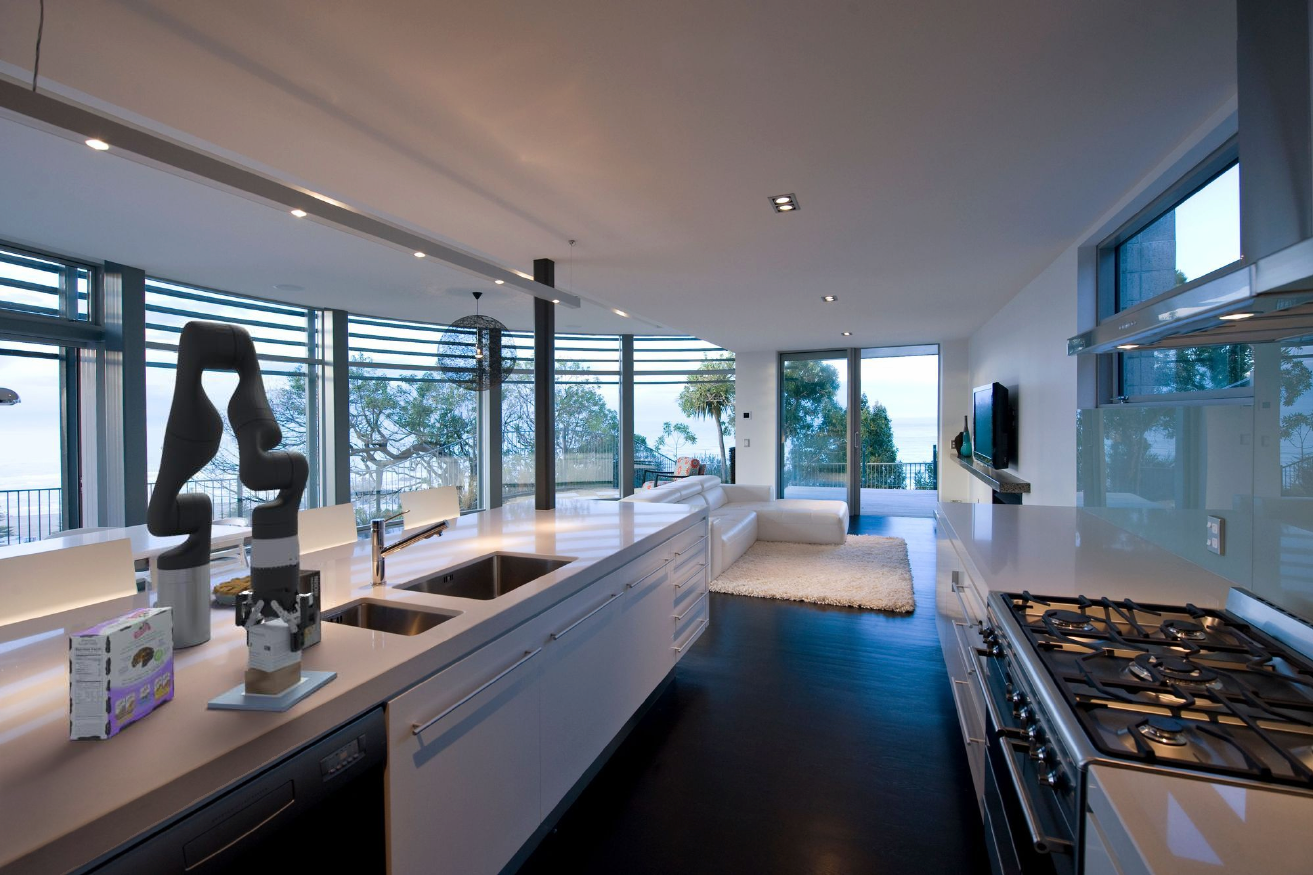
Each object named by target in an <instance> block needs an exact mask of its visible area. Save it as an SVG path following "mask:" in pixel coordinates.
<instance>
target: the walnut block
mask: <svg viewBox="0 0 1313 875" xmlns="http://www.w3.org/2000/svg"><path fill="white" fill-rule="evenodd" d="M301 662H302V660H301V661H299V662H296V663H294V664H291V665H289V666H286V667H284V668H281V669H279V670H276V671H273V672H266V671H262V670H259V669H255V668H250V667H249V668H247V669H246V670H244V683H245V693H247V694H263V695H277V694H279V693H281V692H282V691H284V690H286V689H287V688H289V687H291V686H292V685H294V684H296V683H297V682H299V681H301V670H302V669H301V668H302V667H301V665H302V663H301Z"/></svg>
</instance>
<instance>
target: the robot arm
mask: <svg viewBox="0 0 1313 875" xmlns="http://www.w3.org/2000/svg"><path fill="white" fill-rule="evenodd" d="M180 332H181V333H180V335H179V342H178V349H177V359H176V371H175V372H176V373H175V383H174V390H173V395H172V401H171V405H170V409H169V413H168V419H167V422H166V427H165V433H164V436H163V444H162V452H161V458H160V464H159V469H158V474H157V477H156V480H155V483H154V486H153V490H152V493H151V496H150V500H149V503H148V507H147V511H146V520H145V521H146V527H147V530H148V532H149V534H150V535H152V536H153V537H156V538H169V537H179V536H186V535H188V537H187V539H186V540H185V541H183V542H182V543H181V544H179V545H177V546H175V547H174V548H171V549H169V550H166V551H163V552H162V553H161V554H159V555H158V556H157V558H156V597H157V598H156V600H155V601H154V602H153V604H152V608H156V607H172V610H173V650H175V649H183V648H188V647H192V646H196V645H199V644H203V643H205V642H207V641H208V640H210V639H211V636H212V634H211V633H212V631H211V629H212V628H211V622H212V621H211V619H212V618H211V617H212V616H211V614H212V612H211V607H212V604H211V595H212V592H211V551H212V530H213V527H212V526H213V510H214V509H213V503H212V498H211V497H210V496H209V495H208V494H207V493H206V492H186V493H180V491H181V490H182V488H183V487H184V486H185V484H187V482H189V480H191V478H193V477H194V476H195V475H196V474H198V473H200V471H201V470H203V469H204V468H205V467H206V466H207V465H208V464H209V463H210V462H211V461H212V460H213V459H214V458H215V457H216V456H217V454H218V451H219V449H220V447H221V446H220V444H221V441H222V436H223V434H224V433H223V432H224V421H223V418H222V415H221V414H220V413H219V411H218V409H217V408H216V406H215V405H214V404H213V402H212V401H211V399H210V397H209V396H208V395H207V392H206V390H205V389H204V387H203V382H202V380H203V377H202V376H203V372H204V371H205V370H218V371H235V373H237V375H238V378H239V379H238V384H237V385H236V387H235V389H234V391H233V393H232V394H231V396H230V399H229V401H228V404H227V411H226V412H227V413H226V414H227V420H228V423H229V425H230V427H231V430H232V431H233V432H232V433H233V434H234V437H235V439H236V441H237V446H238V448H237V449H238V456H239V457H238V460H239V462H238V476H239V480H240V482H241V484H242V485H243V486H244V487H245V488H246V489H248V490H251V491H252V492H266V491H278V490H279V491H278V492H277V493H278V494H277V496H276V497H275V498H274V499H273V500H271V501H268V502H265V503H261V504H259V505H256V506H255V507H254V508H253V510H252V512H251V542H250V543H251V544H250V548H249V549H250V553H249V556H250V557H249V560H250V561H249V564H250V565H249V566H250V567H249V568H250V569H249V572H250V574H249V575H250V587H251V589H252V590H253V593H252V592H251V591H250V590H248V591H245V592H242V593H239V594H237V595H236V599H235V605H234V607H235V609H234V610H235V612H234V614H235V615H234V617H235V618H234V621H235V622H234V624H235V626H236V627H243V628H244V630H246V645H247V647H248V648H249V627H252V626H255V625H259V624H262V623H263V622H264V618H265V617H266V618H268V617H274V618H281V619H282V621H283V622H284V623H287V624H288V626H289V627H290V629H291V630H292V632H291V633H290V635H291V652H295V653H296V652H298V651H300V650H301V651H302V650H303V649H302V647H304V644H305V629H306V628H308V627H310V626H312V625H314V624H315V623H316V600H315V594H314V593H309V594H299V592H298V584H299V582H300V570H301V568H300V567H301V565H300V564H301V563H300V560H301V556H300V553H301V551H300V546H301V545H300V542H299V517H298V516H299V509H300V506H301V502H302V498H303V495H304V491H305V488H306V486H307V483H308V480H309V474H310V466H309V462H308V460H307V458H306V457H305V456H304V454H302V453H301V452H299V451H297V450H283V451H282V450H280V451H279V450H278V451H277V450H276V451H271V450H273V449H275V448H277V447H278V446H279V445H280V444H281V443H282V441H283V432H282V430H281V427H280V425H279V422H278V420H277V418H276V416H275V414H274V411H273V410H272V408H271V406H270V403H269V400H268V396H267V393H266V389H265V385H264V380H263V375H262V369H261V367H260V366H261V365H260V363H259V358H258V355H257V349H256V346H255V344H254V341H253V338H252V336H251V334H250V333H249V331H248V330H247V329H246V328H245V327H243V326H240V325H237V324H233V323H232V324H231V323H222V322H212V321H202V320H190V321H188V322H186V323H185V324H184V326H183V327H182V330H181V331H180ZM252 602H253V603H254V605H252ZM297 602H298V603H299V604H298V605H297ZM253 606H254V608H253ZM298 606H300V608H299V607H298ZM291 611H292V613H293V614H292V615H289V613H290V612H291ZM296 622H297V623H296Z"/></svg>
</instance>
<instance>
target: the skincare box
mask: <svg viewBox="0 0 1313 875" xmlns="http://www.w3.org/2000/svg"><path fill="white" fill-rule="evenodd" d="M296 623H297V622H296ZM291 632H292V630H291V629H290V627H289V626H288V624H287V623H284V622H283V621H282V619H281V618H279V619H275V620H272V621H269V622H266V623H264V622H262V623H261V624H259V625H255V626H252V627H249V647H248V668H249V669H250V668H255V669H259V670H262V671H266V672H273V671H276V670H279V669H281V668H284V667H286V666H289V665H291V664H294V663H296V662H299V661H301V662H302V649H301V650H300V651H298V652H296V653H295V652H291V635H290V633H291Z"/></svg>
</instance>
